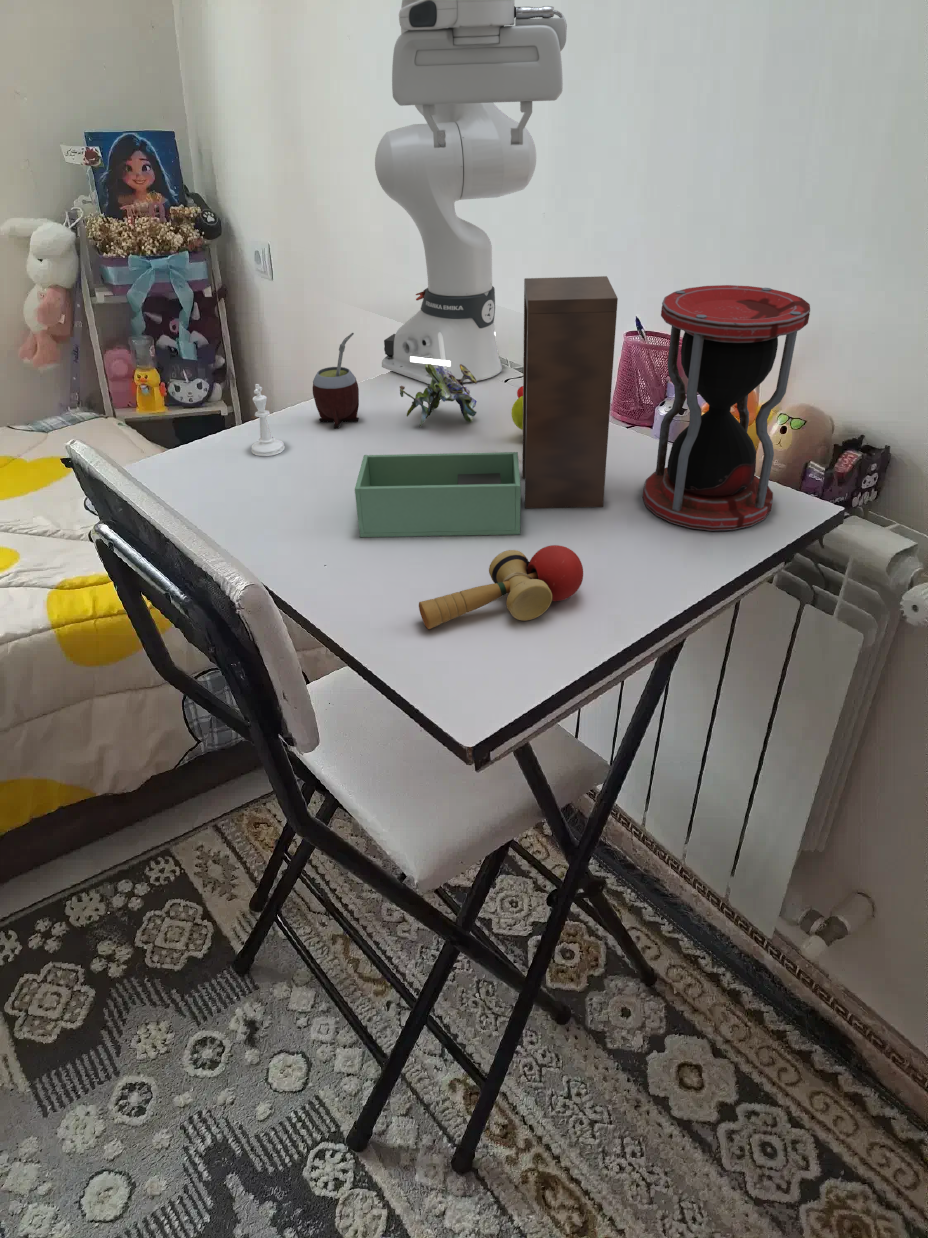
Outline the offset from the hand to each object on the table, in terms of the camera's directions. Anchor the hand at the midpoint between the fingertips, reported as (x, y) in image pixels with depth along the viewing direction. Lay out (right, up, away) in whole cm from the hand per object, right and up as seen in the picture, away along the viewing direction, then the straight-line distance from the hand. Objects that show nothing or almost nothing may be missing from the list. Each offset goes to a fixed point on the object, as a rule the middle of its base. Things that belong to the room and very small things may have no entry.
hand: (478, 145), depth 106 cm
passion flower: (-5, -28, +29) cm, 41 cm away
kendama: (+2, -57, -14) cm, 59 cm away
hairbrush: (-5, -45, +3) cm, 45 cm away
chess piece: (-31, -33, +23) cm, 51 cm away
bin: (-5, -45, +4) cm, 46 cm away
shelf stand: (+11, -41, +9) cm, 44 cm away
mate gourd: (-21, -27, +31) cm, 46 cm away
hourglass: (+29, -43, +5) cm, 53 cm away
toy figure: (+8, -31, +23) cm, 40 cm away
